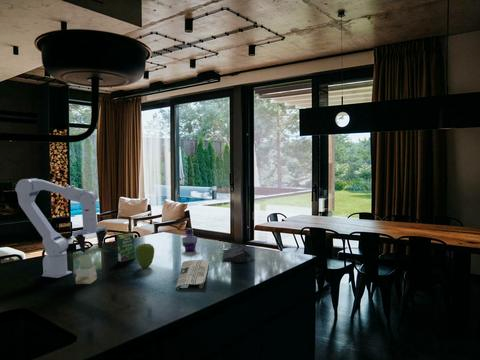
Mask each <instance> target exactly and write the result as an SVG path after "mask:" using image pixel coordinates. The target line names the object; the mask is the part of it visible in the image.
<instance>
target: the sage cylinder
mask: <svg viewBox="0 0 480 360" xmlns="http://www.w3.org/2000/svg"><path fill="white" fill-rule="evenodd" d="M92 265H93V264H92V254H88V253H87V254H85V253H84V254H81V255H79V268H80V269H89V268H91V267H92Z"/></svg>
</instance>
